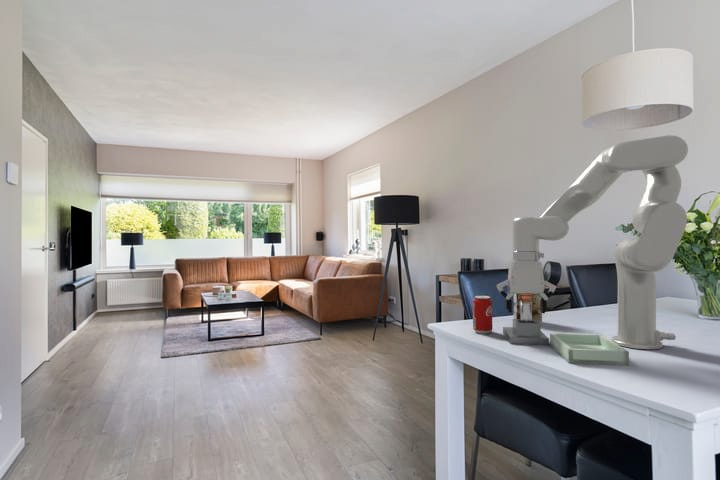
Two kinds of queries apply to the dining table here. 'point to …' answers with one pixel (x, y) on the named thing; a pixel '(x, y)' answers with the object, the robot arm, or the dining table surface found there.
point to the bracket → (525, 333)
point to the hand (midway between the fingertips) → (526, 312)
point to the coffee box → (535, 308)
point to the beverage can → (482, 314)
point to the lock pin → (526, 307)
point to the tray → (589, 349)
